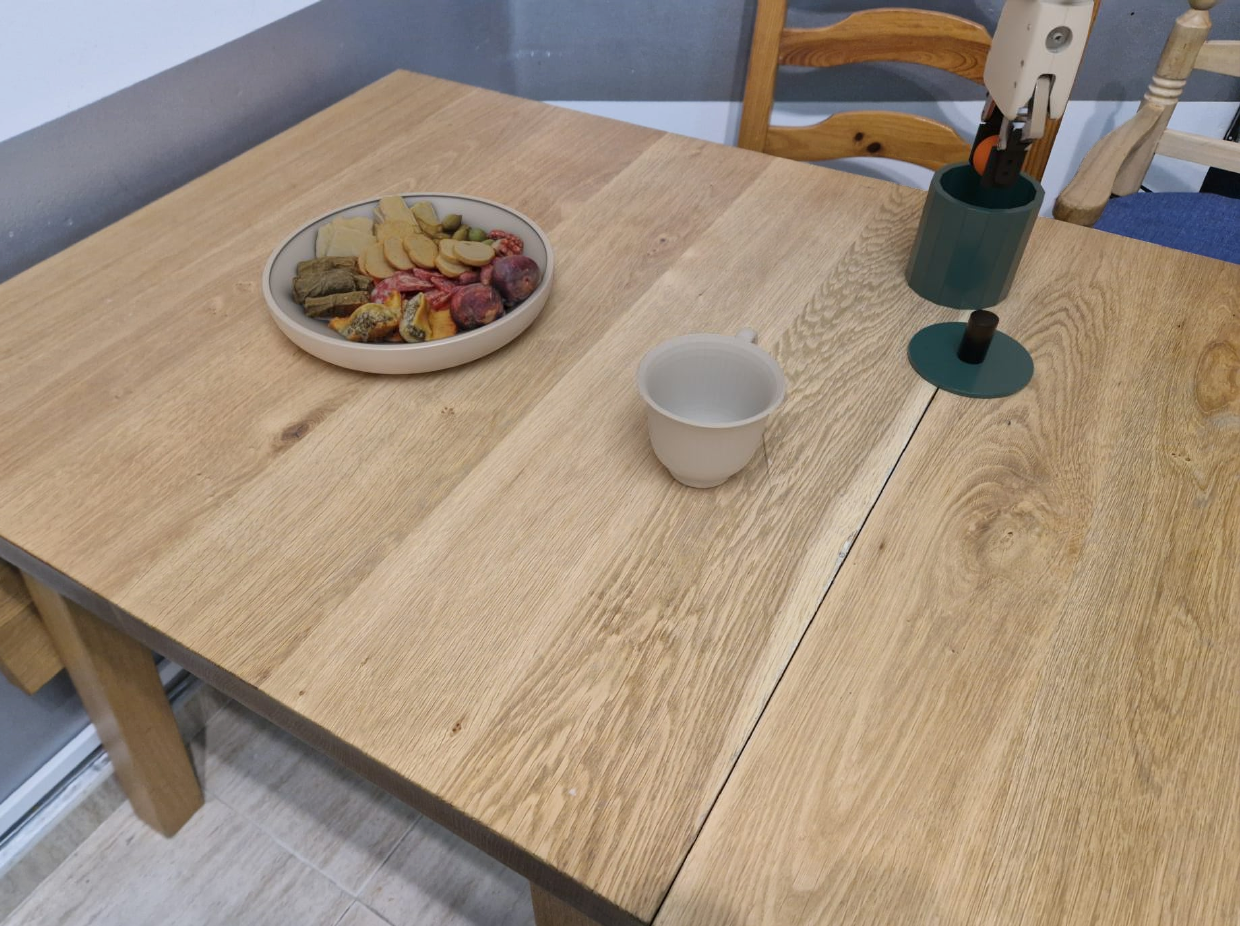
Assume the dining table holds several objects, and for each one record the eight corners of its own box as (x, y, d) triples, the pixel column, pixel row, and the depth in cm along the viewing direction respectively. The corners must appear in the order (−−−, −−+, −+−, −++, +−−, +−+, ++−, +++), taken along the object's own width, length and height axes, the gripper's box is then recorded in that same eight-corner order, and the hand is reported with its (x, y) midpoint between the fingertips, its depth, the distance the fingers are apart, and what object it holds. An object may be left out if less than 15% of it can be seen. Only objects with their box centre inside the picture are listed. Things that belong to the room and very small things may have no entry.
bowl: (216, 358, 94) (193, 291, 89) (356, 214, 114) (344, 152, 108) (493, 417, 87) (486, 348, 82) (591, 253, 107) (591, 188, 101)
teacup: (801, 430, 86) (821, 340, 78) (736, 535, 77) (751, 444, 70) (682, 388, 90) (690, 300, 83) (607, 483, 81) (609, 393, 74)
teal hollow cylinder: (992, 260, 105) (1027, 161, 96) (1018, 315, 97) (1058, 213, 89) (896, 258, 105) (922, 160, 97) (915, 313, 98) (945, 212, 90)
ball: (1004, 167, 94) (1017, 127, 91) (1015, 186, 91) (1029, 146, 88) (963, 166, 94) (975, 127, 91) (973, 186, 91) (986, 146, 88)
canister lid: (1011, 331, 95) (1030, 284, 91) (1045, 405, 87) (1067, 356, 83) (895, 329, 96) (909, 281, 92) (919, 402, 88) (935, 353, 84)
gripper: (1140, 5, 73) (1055, 219, 86) (1072, -61, 85) (1006, 137, 98) (1042, 4, 73) (972, 218, 87) (987, -61, 85) (933, 137, 98)
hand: (991, 173), depth 92 cm, fingers closed on ball, 3 cm apart
